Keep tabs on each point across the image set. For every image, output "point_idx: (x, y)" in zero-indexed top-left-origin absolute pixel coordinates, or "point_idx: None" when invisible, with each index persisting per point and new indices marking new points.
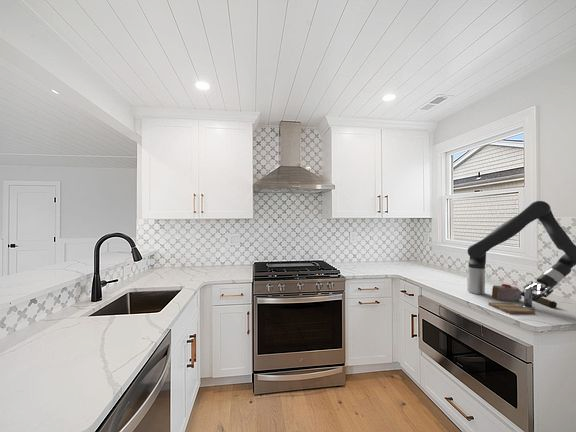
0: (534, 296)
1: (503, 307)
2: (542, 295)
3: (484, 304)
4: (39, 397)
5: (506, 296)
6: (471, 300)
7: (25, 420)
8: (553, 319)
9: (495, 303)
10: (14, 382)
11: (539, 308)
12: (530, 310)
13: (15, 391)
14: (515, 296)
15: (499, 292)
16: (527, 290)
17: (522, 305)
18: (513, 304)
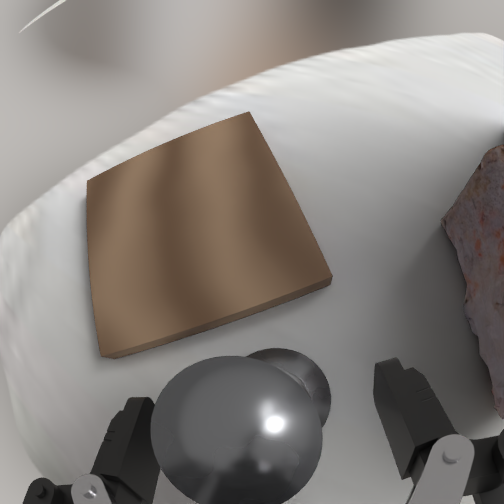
0: (119, 427)
1: (149, 166)
2: (66, 491)
3: (258, 110)
4: (39, 15)
5: (479, 273)
6: (322, 76)
7: (27, 24)
8: (49, 408)
9: (237, 140)
10: (52, 5)
11: (302, 496)
12: (109, 329)
13: (45, 10)
14: (495, 356)
15: (469, 188)
16: (175, 387)
17: (289, 358)
18: (257, 264)
